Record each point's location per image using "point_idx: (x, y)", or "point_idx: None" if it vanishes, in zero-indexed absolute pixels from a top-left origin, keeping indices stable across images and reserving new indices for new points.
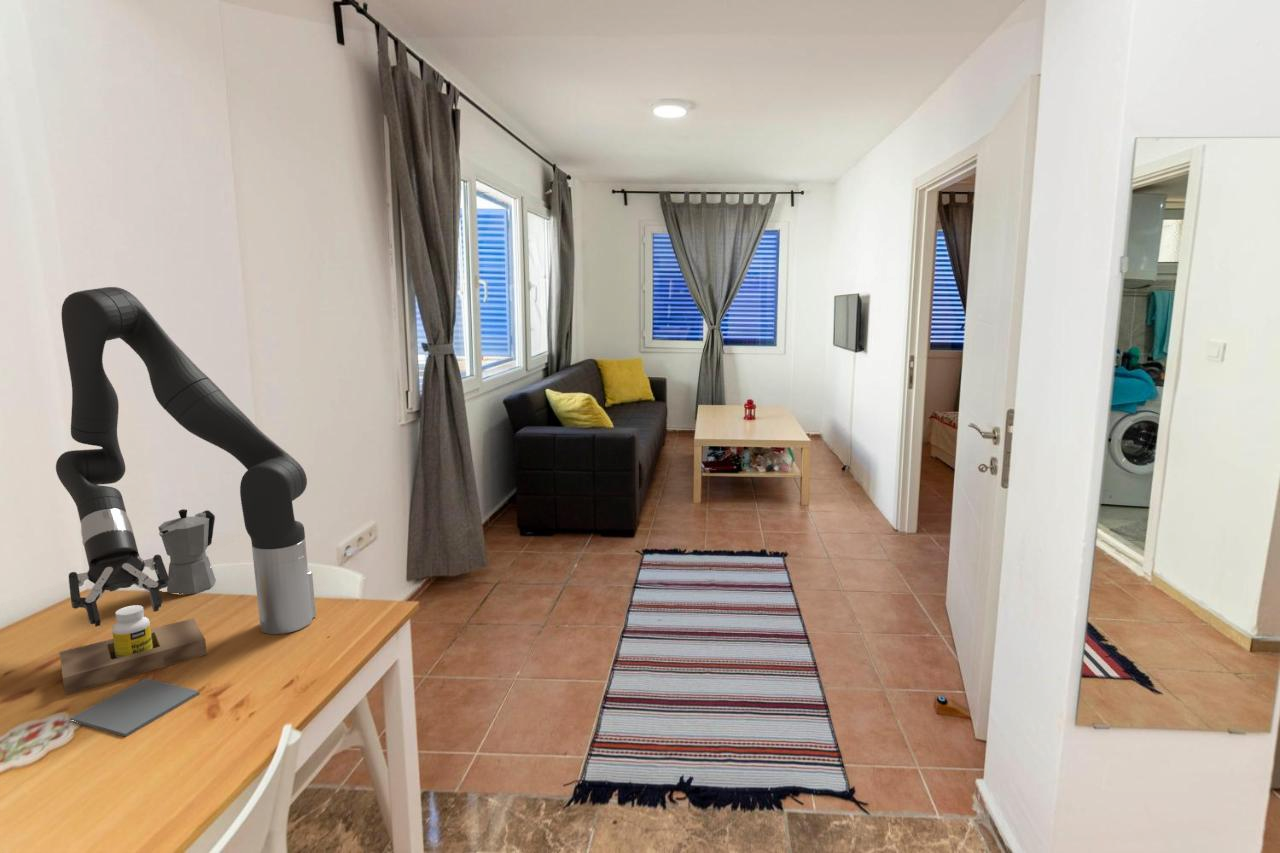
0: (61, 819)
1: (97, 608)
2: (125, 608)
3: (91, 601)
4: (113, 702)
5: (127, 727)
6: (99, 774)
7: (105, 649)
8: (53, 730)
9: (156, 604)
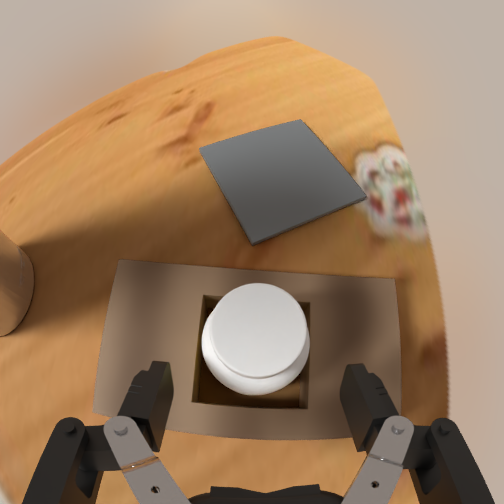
0: (345, 73)
1: (363, 397)
2: (268, 356)
3: (390, 420)
4: (310, 195)
5: (297, 127)
6: (323, 92)
7: (315, 377)
8: (380, 190)
9: (157, 363)
